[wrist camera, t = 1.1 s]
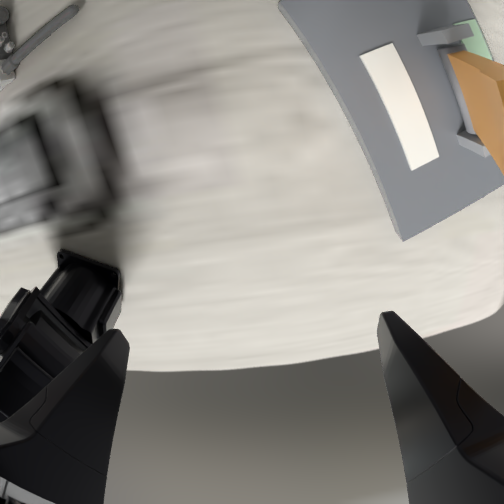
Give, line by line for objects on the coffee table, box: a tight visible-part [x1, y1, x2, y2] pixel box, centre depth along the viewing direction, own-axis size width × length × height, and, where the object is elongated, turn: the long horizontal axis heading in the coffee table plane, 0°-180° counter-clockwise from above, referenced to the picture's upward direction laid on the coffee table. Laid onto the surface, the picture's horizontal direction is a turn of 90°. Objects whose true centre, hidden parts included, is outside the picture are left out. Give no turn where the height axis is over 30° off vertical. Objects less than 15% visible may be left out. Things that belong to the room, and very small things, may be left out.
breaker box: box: [278, 0, 504, 242], centre depth 13 cm, size 13×18×4 cm
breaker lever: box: [437, 43, 504, 175], centre depth 9 cm, size 2×6×11 cm, turn 32°
